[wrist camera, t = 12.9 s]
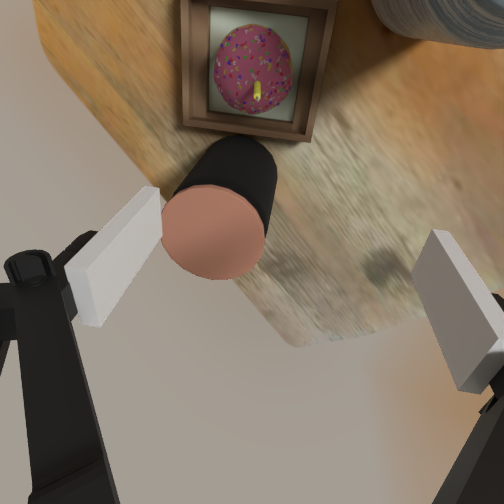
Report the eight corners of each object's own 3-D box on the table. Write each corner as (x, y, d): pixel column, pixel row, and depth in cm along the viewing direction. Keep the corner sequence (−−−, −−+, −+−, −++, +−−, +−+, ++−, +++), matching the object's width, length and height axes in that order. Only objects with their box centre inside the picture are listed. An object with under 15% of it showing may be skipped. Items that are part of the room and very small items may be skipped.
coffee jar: (195, 189, 50) (148, 258, 35) (216, 119, 44) (170, 168, 29) (261, 215, 51) (243, 294, 36) (290, 151, 45) (282, 214, 30)
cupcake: (309, 66, 39) (310, 81, 29) (259, 121, 43) (245, 150, 33) (255, 4, 36) (236, -3, 26) (207, 69, 40) (175, 83, 31)
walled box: (188, -15, 36) (180, -18, 34) (336, 2, 35) (338, 0, 33) (189, 119, 44) (183, 125, 42) (310, 136, 43) (310, 142, 41)
